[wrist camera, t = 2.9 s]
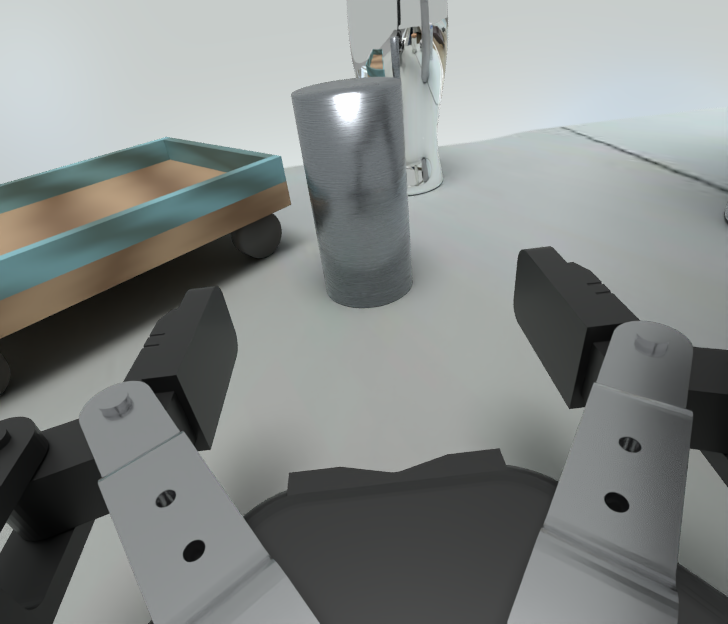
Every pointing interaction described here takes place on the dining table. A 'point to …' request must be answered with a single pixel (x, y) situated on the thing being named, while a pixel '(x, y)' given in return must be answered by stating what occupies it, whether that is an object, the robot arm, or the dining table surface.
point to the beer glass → (406, 71)
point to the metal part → (357, 186)
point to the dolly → (127, 221)
